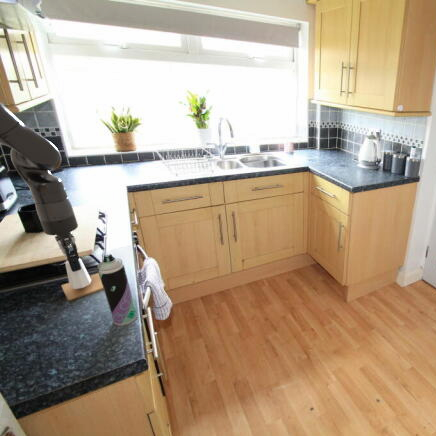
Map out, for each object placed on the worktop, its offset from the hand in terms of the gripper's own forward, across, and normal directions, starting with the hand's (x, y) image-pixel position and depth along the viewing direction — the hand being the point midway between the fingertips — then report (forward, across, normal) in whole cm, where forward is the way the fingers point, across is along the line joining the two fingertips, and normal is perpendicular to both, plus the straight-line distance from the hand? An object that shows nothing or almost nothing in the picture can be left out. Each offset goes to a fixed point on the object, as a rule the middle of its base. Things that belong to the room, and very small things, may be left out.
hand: (74, 267), depth 95 cm
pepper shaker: (+6, 0, 0) cm, 6 cm away
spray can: (+8, +24, +5) cm, 26 cm away
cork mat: (+8, 0, 0) cm, 8 cm away
